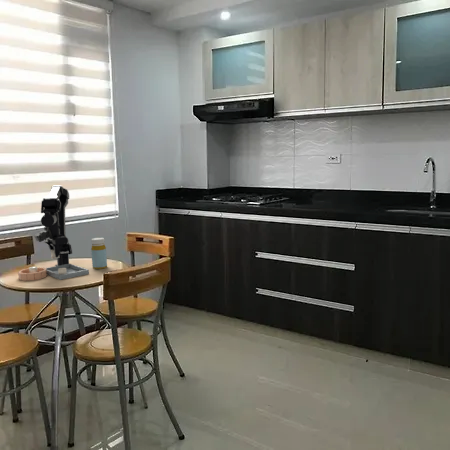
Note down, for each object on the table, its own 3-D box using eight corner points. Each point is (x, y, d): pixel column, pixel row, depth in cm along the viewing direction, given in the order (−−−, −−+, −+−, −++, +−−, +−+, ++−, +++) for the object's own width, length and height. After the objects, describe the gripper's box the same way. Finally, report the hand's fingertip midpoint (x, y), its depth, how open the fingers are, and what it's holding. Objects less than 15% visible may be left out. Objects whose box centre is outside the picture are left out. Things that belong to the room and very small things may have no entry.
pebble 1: (28, 275, 224) (28, 267, 223) (36, 274, 226) (36, 266, 225) (30, 277, 221) (30, 268, 220) (38, 275, 223) (38, 267, 223)
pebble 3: (57, 277, 220) (56, 268, 220) (64, 275, 223) (64, 267, 222) (60, 278, 217) (60, 269, 217) (68, 276, 220) (67, 268, 219)
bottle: (103, 270, 233) (101, 239, 231) (90, 269, 234) (88, 239, 232) (109, 266, 240) (107, 237, 238) (96, 266, 241) (94, 237, 239)
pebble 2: (50, 258, 226) (49, 249, 225) (57, 256, 228) (56, 248, 228) (53, 259, 223) (52, 250, 223) (60, 257, 226) (59, 249, 225)
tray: (42, 273, 230) (42, 268, 229) (70, 268, 239) (69, 263, 239) (60, 280, 215) (59, 275, 215) (88, 274, 224) (88, 269, 224)
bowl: (15, 278, 222) (14, 270, 222) (40, 273, 230) (40, 266, 230) (24, 282, 213) (24, 275, 213) (51, 277, 221) (50, 270, 221)
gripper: (27, 224, 225) (30, 256, 227) (43, 227, 211) (46, 262, 214) (50, 221, 233) (53, 253, 235) (67, 224, 219) (70, 258, 221)
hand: (55, 256), depth 226 cm, fingers closed on pebble 2, 4 cm apart
